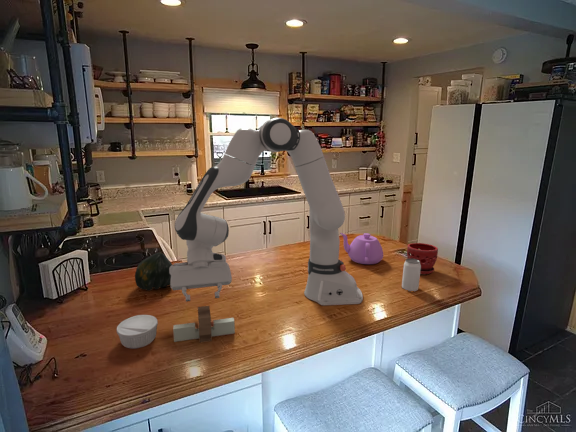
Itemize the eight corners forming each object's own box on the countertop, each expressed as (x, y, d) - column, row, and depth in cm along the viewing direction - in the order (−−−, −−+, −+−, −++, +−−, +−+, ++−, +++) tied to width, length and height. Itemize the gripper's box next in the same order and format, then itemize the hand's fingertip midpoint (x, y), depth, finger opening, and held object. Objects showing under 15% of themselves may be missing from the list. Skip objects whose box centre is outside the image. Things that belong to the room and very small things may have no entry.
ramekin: (117, 355, 96) (115, 338, 95) (118, 334, 106) (117, 318, 105) (159, 346, 101) (158, 329, 99) (157, 326, 110) (156, 311, 109)
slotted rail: (233, 329, 109) (233, 317, 108) (234, 333, 107) (234, 321, 106) (174, 337, 104) (173, 325, 104) (174, 341, 102) (173, 329, 101)
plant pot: (441, 272, 158) (444, 247, 155) (423, 278, 151) (426, 252, 148) (416, 263, 169) (419, 240, 166) (399, 268, 161) (401, 244, 159)
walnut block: (198, 329, 109) (197, 306, 107) (210, 328, 110) (209, 305, 108) (199, 342, 102) (198, 318, 100) (211, 340, 103) (210, 316, 101)
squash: (121, 275, 135) (138, 252, 129) (151, 264, 148) (168, 243, 142) (142, 304, 133) (160, 281, 126) (171, 290, 146) (188, 269, 140)
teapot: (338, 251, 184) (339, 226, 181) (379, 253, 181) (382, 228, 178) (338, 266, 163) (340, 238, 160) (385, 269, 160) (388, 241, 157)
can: (420, 288, 141) (423, 260, 138) (414, 293, 137) (417, 265, 134) (405, 283, 146) (408, 256, 143) (398, 288, 141) (401, 260, 138)
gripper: (168, 259, 115) (169, 299, 109) (229, 254, 121) (234, 292, 114) (169, 267, 121) (170, 306, 114) (228, 262, 126) (232, 298, 119)
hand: (202, 299), depth 114 cm, fingers open, 8 cm apart
